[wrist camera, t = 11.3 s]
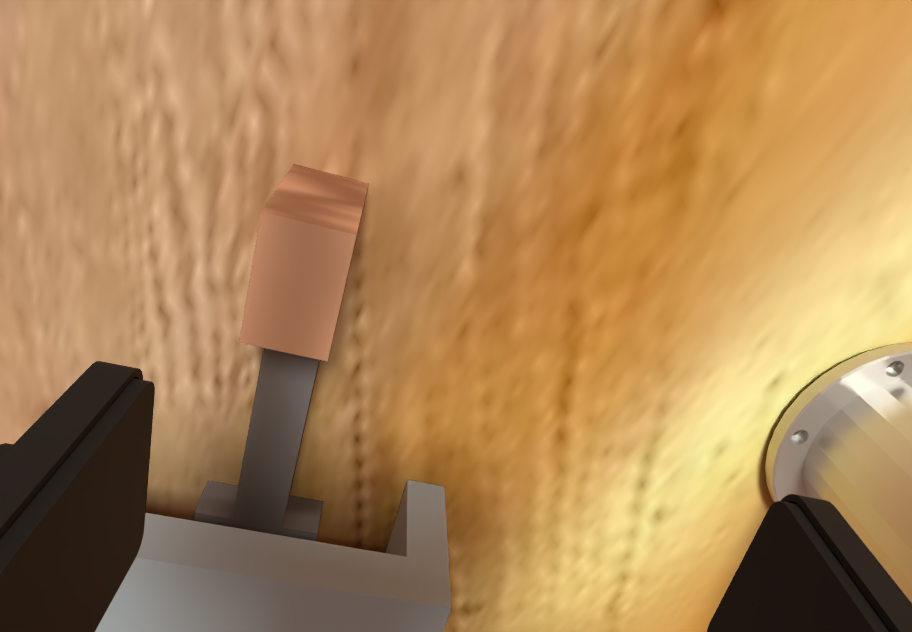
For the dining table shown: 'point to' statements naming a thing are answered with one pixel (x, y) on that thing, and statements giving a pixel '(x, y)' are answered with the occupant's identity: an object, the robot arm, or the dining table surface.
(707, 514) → the dining table surface
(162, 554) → the bridge block
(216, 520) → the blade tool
